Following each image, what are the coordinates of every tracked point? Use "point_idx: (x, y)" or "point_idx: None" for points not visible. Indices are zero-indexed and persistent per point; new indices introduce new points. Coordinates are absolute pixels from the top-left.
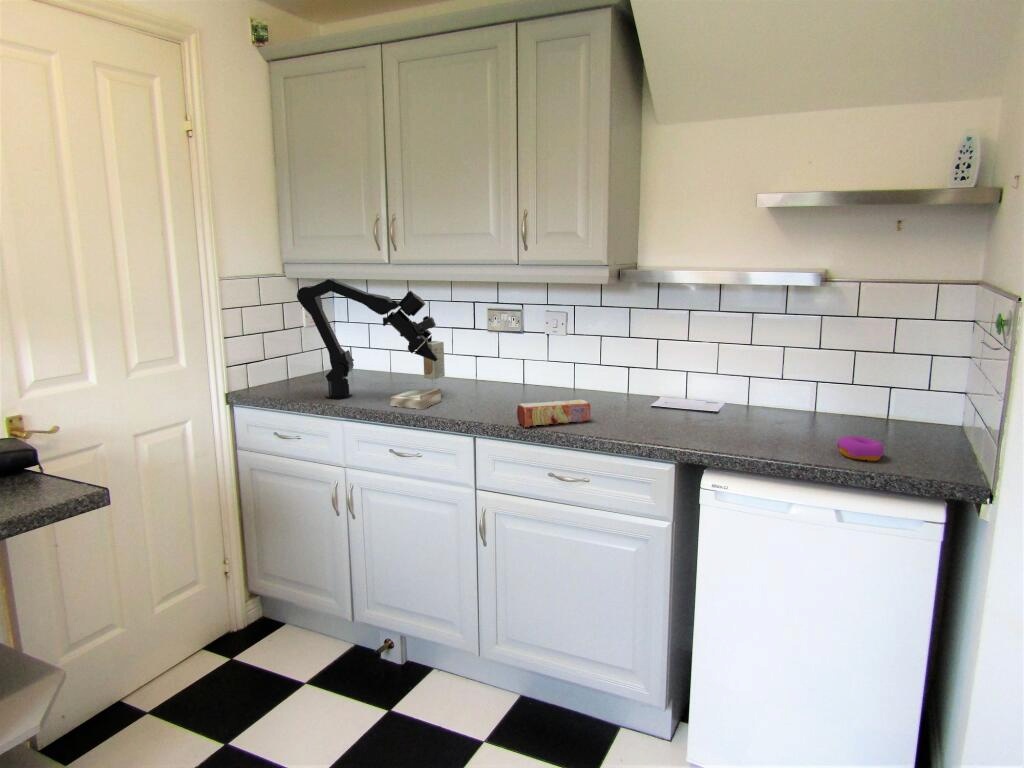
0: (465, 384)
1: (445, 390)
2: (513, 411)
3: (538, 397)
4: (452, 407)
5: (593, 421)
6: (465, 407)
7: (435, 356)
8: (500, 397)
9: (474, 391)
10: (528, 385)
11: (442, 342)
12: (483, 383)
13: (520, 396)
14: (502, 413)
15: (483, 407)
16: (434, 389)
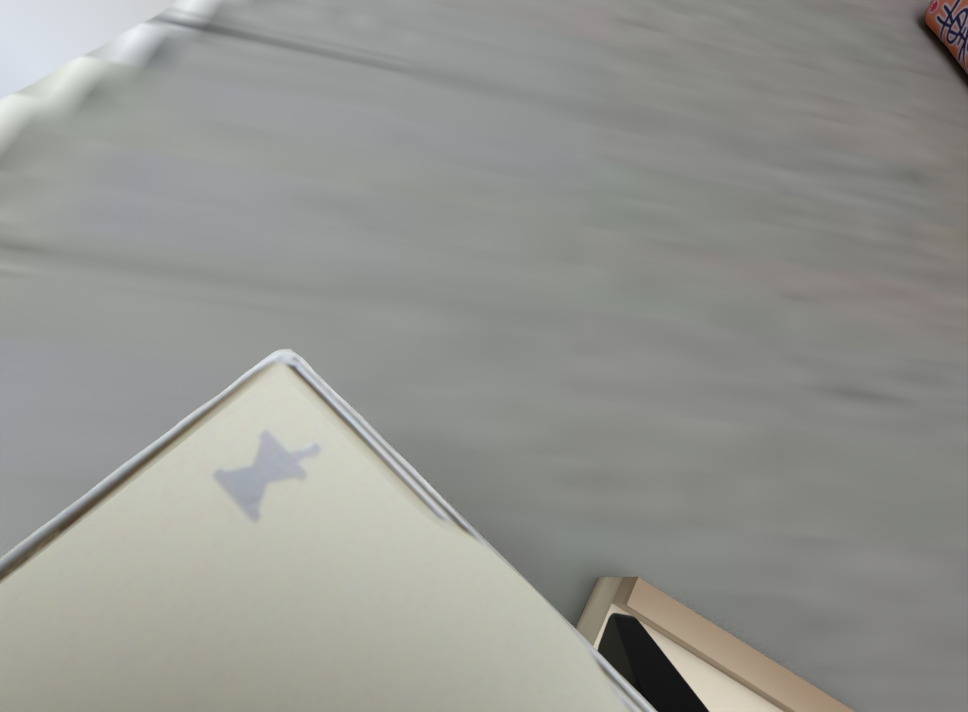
0: (13, 326)
1: None
2: (847, 201)
3: (554, 49)
4: (781, 503)
5: None
6: (777, 418)
7: (658, 664)
8: (525, 194)
9: (307, 301)
10: (245, 17)
11: (336, 395)
12: (50, 207)
13: (518, 107)
14: (894, 253)
15: (771, 318)
16: (696, 645)
